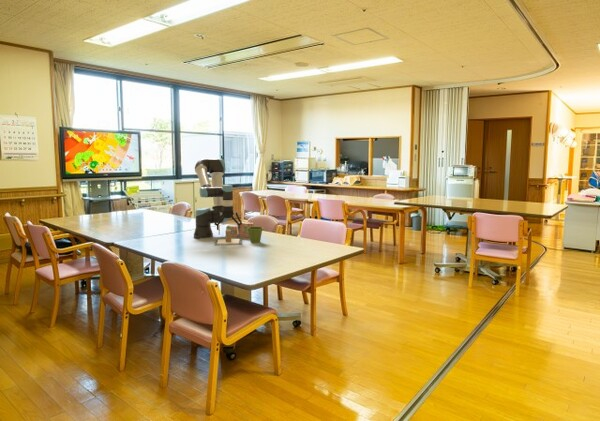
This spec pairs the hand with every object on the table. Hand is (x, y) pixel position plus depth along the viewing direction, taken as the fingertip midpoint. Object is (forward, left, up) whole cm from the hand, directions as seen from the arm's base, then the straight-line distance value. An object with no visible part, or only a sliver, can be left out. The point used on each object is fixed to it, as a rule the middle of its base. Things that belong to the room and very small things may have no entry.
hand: (228, 234), depth 304 cm
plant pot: (0, +20, -7) cm, 21 cm away
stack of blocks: (-21, +8, -7) cm, 24 cm away
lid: (0, 0, -6) cm, 6 cm away
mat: (0, 0, -7) cm, 7 cm away
